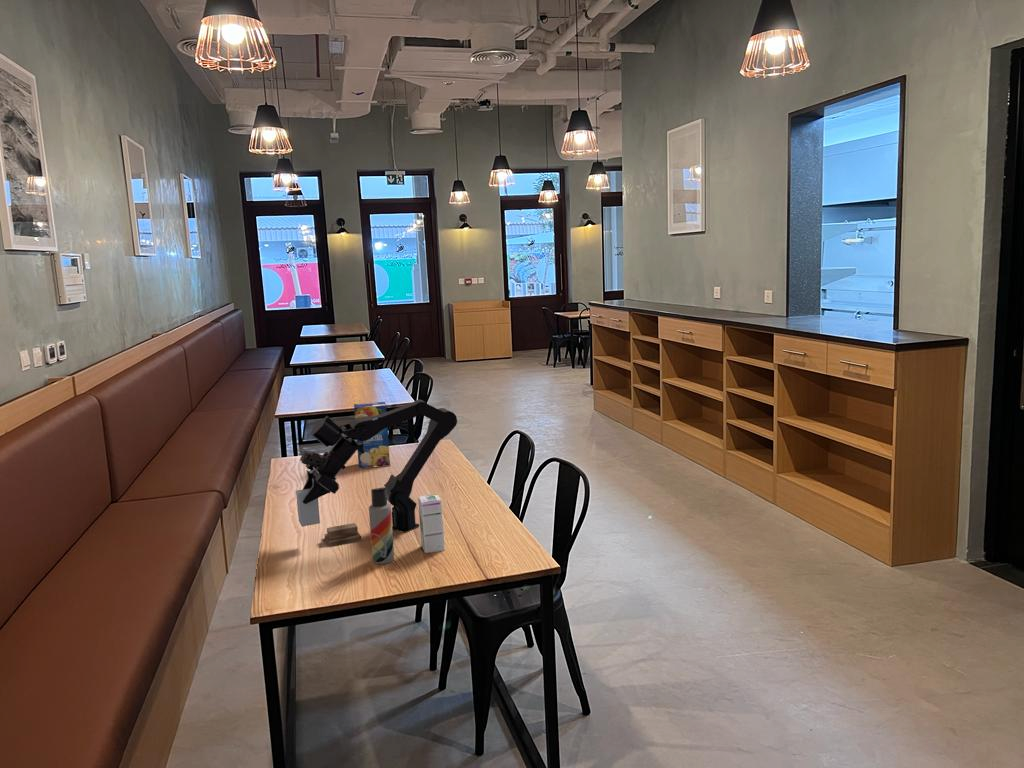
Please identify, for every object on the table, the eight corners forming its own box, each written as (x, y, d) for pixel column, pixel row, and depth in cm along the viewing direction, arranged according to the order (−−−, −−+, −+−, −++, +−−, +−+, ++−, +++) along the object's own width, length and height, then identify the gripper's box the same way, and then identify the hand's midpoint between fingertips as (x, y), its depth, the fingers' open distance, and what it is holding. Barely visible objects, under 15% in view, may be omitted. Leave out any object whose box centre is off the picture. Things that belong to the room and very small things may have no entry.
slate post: (316, 518, 213) (314, 487, 211) (320, 523, 208) (317, 492, 207) (298, 521, 211) (295, 490, 209) (301, 526, 206) (298, 495, 205)
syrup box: (445, 550, 203) (442, 499, 201) (423, 553, 201) (420, 502, 199) (441, 543, 208) (438, 493, 206) (420, 546, 207) (417, 496, 204)
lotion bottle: (375, 566, 194) (370, 492, 191) (370, 558, 199) (365, 486, 196) (396, 562, 196) (391, 489, 193) (391, 554, 202) (386, 483, 198)
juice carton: (358, 468, 287) (354, 407, 283) (358, 463, 294) (353, 404, 290) (390, 465, 290) (386, 405, 286) (388, 460, 297) (384, 401, 293)
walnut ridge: (355, 532, 219) (354, 520, 219) (361, 540, 213) (360, 528, 212) (324, 538, 215) (323, 526, 215) (329, 546, 209) (328, 534, 209)
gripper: (310, 432, 215) (274, 475, 213) (323, 446, 199) (284, 493, 196) (339, 455, 220) (305, 497, 217) (354, 470, 203) (317, 516, 201)
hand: (302, 500), depth 208 cm, fingers closed on slate post, 5 cm apart
